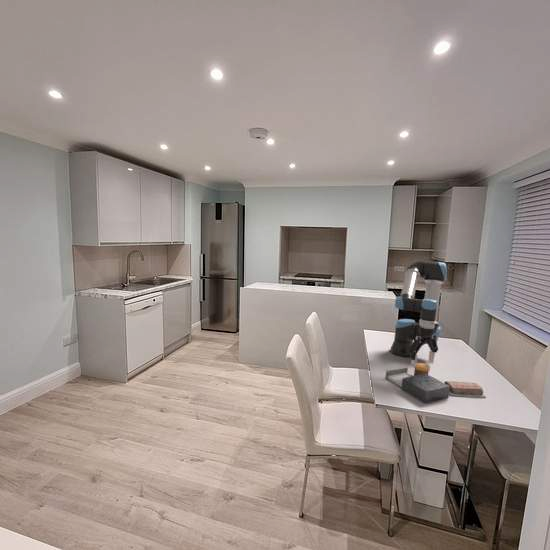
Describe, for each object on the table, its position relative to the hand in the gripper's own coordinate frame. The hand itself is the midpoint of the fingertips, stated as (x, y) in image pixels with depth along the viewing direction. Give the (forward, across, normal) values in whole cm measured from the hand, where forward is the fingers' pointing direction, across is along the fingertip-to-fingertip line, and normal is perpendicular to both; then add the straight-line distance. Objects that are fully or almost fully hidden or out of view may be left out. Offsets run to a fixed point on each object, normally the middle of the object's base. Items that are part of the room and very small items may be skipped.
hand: (422, 364), depth 166 cm
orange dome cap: (+3, 0, 0) cm, 3 cm away
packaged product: (+9, +7, -19) cm, 22 cm away
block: (+8, 0, 0) cm, 8 cm away
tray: (+8, -14, -2) cm, 16 cm away
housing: (+8, -14, -14) cm, 21 cm away
